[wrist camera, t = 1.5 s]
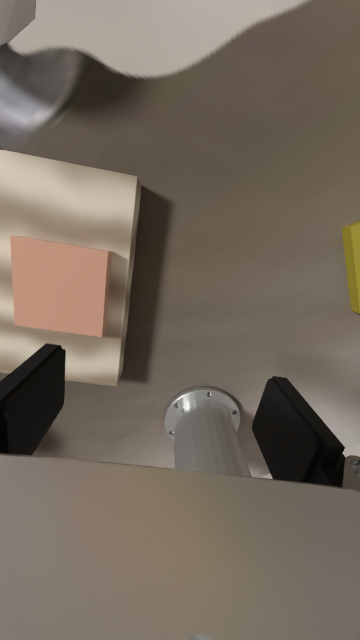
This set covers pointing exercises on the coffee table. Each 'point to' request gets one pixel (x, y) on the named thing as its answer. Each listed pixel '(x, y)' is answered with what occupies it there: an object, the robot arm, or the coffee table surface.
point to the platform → (72, 228)
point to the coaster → (60, 286)
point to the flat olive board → (353, 262)
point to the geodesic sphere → (15, 17)
